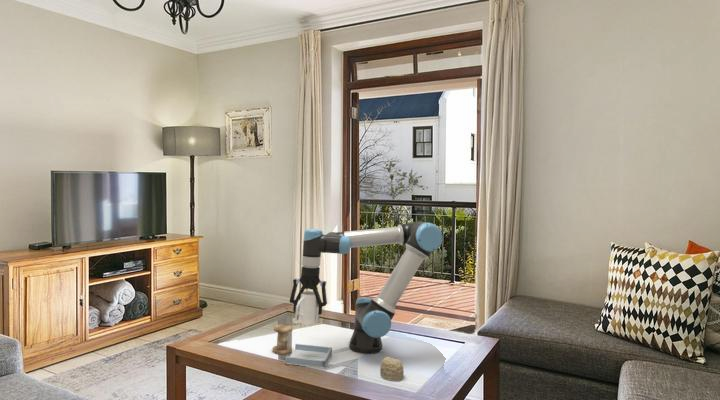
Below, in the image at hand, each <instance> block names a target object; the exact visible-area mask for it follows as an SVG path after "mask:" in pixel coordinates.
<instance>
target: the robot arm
mask: <svg viewBox="0 0 720 400" xmlns="http://www.w3.org/2000/svg"><path fill="white" fill-rule="evenodd" d="M303 235H304V236H303V241H302V243H303V245H302V246H303V247H302V259H301V270H300V271H301V272H300V278H297V277H296V278H294V279H293V280H292V283H293V286H292V289H291V293H290V297H289V303H291V304H292V305H293V307H292V308H293V313H294V314H295V317H294V321H295V322H298V321H297V320H298V314H297V305H298V302H299V300H300V296H301V294H303V292H304V291H306V290H308V289H309V290H312V291H313V292H314V294H315V297H316V300H317V302H318V306H317V311H316V324H318V323H319V321H320V315H322V313H323V307H326V305H327V304H328V299H327V289H326V288H327V287H326V286H327V281H326V280H321V279H320V272H321V271H320V267H321V259H322V258H321V257H322V255H321V253H322V254H323V253H327V254H338V255H345V254H349V253H350V251H351V249H352V248H353V249H354V248H361V247H362V248H363V247H373V246H374V247H375V246H384V245H396V244H398V245H400V246H405V251H404V252H403V254H402V255H401V257H400V259H399V261H398V262H397V264H396V266H395V267H394V268H393V270H392V272H391V274H390V275H389V277H388V278H387V280H386V282H385V284H384V285H383V286H382V289H381V290H380V292H379V294H378V295H377V296H376V297H368V296H367V297H357V298H356V301H355V304H354V305H355V311H354V312H355V313H354V328H353V331H352V335H351V336H350V337H351V338H350V339H349V345H348V348H349V349H350V350H351V351H352V352H355V353H358V354H359V353H360V354H365V355H367V354H368V355H374V354H378V353H381V352H382V351H383V342H382V337H385V336H386V335H387V334H388V333H389V332H390V329H391V328H392V319H393V318H394V316H395V315H396V309H395V307H396V306H397V304H398V303H399V301H400V300H401V298H402V296H403V294H404V293H405V291H406V289H407V287H408V286H409V284H410V282H412V280H413V278H414V276H415V274H416V273H417V271H418V269H419V268H420V266H421V264H422V263H423V261H424V260H426V259H429V258H430V256H431V255H432V254H433V252H435V251H437V250H438V249H439V248H440V247H441V246H442V243H443V238H444V237H443V232H442V230H441V229H440V228H439V227H438V225H436V224H433V223H431V222H428V221H427V222H425V221H420V220H419V221H414V222H413V221H412V222H409V223H400V224H397V226H395V227H394V226H393V227H392V226H391V227H382V228H379V227H378V228H370V229H369V228H368V229H360V230H350V231H349V230H348V231H338V232H337V231H336V232H335V231H330V232H327V233H326V234H324V233H323V230H322V229H317V228H316V229H315V228H306V230H304V234H303ZM299 283H300V284H301V287H300V290H299V292H298V293H297V289H298V285H299ZM319 284H320V287H321V296H320V292H319V289H318V288H319V287H318V285H319ZM296 293H297V295H296ZM298 311H299V308H298ZM381 350H382V351H381ZM380 351H381V352H380Z"/></svg>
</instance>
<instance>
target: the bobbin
mask: <svg viewBox="0 0 720 400" xmlns="http://www.w3.org/2000/svg"><path fill="white" fill-rule="evenodd" d="M293 329H294V327H293V326H292V325H290V324H276V325H274V326H273V331H274V332H276V333H277V336H276V338H277V340H276V345H274V346H272V349H271V350H272V353H273V354H276V355H287V354H290V353H291V352H292V346H289V345H288V342H289V341H288V338H289V333H291V332H292V331H293Z"/></svg>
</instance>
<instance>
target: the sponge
mask: <svg viewBox="0 0 720 400" xmlns="http://www.w3.org/2000/svg"><path fill="white" fill-rule="evenodd" d="M404 371H405V370H404V364H403V363H402V361H400V360H399V359H398V358H394V357H389V356H386V357H384V358H383V359H382V361H381V364H380V369H379V372H380V377H381V378H382V379H384V380H385V381H389V382H399V381H402V379H404Z"/></svg>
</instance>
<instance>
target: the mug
mask: <svg viewBox="0 0 720 400" xmlns="http://www.w3.org/2000/svg"><path fill="white" fill-rule="evenodd" d="M297 304H298V305H297V314H298V320H297V321H296V322H297V323H298V324H302V325H309V326H310V325H315V324H317V323H316V311H317V306H319V305H318V302H317V300H316V297H315V294H314V292H313V290H312V291H311V290H307V291H306V290H304V292H303V294H301V296H300V299H299V301H298V303H297ZM298 308H299V311H298Z"/></svg>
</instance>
